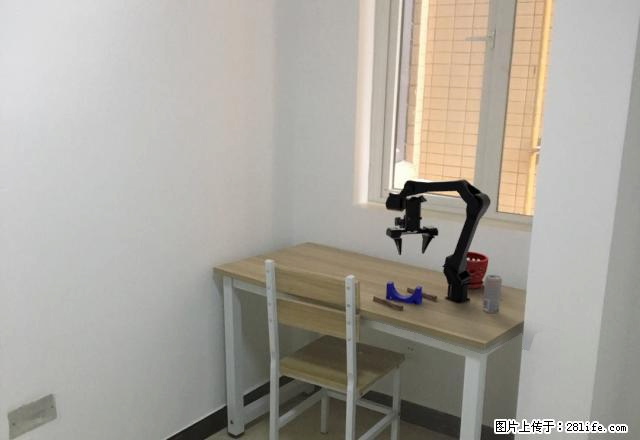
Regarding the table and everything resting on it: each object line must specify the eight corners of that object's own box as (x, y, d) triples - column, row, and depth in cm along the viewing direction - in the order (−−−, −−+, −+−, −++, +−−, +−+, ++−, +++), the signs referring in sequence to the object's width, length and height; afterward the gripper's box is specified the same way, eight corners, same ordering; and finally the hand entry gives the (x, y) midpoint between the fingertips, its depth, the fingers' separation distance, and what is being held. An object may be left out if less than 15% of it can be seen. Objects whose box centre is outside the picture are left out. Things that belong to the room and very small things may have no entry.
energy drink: (495, 308, 205) (499, 274, 203) (501, 313, 200) (504, 279, 198) (480, 308, 205) (483, 274, 203) (485, 313, 200) (488, 279, 197)
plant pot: (447, 287, 227) (449, 256, 224) (455, 278, 238) (457, 249, 236) (482, 292, 221) (484, 261, 219) (488, 283, 233) (491, 253, 230)
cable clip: (422, 301, 210) (423, 285, 209) (418, 305, 206) (419, 289, 205) (390, 295, 216) (391, 280, 214) (385, 299, 212) (386, 283, 210)
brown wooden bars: (436, 299, 212) (437, 295, 212) (400, 310, 200) (400, 306, 200) (409, 290, 222) (410, 286, 222) (373, 300, 210) (373, 296, 210)
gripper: (427, 208, 229) (425, 247, 232) (381, 210, 224) (380, 250, 227) (439, 213, 218) (438, 254, 221) (392, 215, 214) (390, 257, 217)
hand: (411, 254), depth 222 cm, fingers open, 9 cm apart
